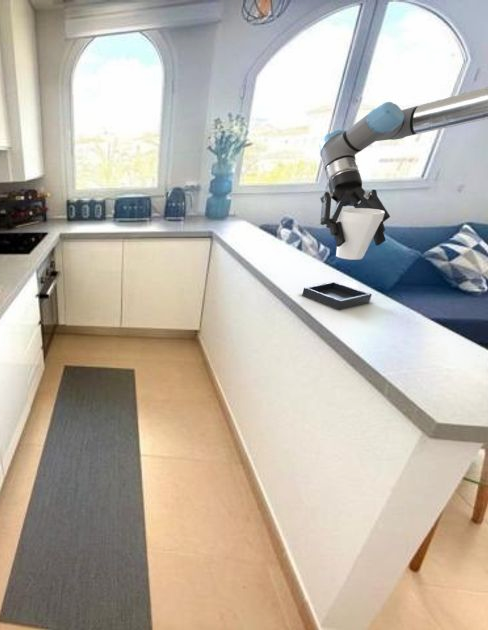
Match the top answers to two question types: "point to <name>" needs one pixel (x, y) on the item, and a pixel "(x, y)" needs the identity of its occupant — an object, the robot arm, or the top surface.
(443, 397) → the top surface
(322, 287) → the dark grey square tray
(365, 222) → the foam cup
